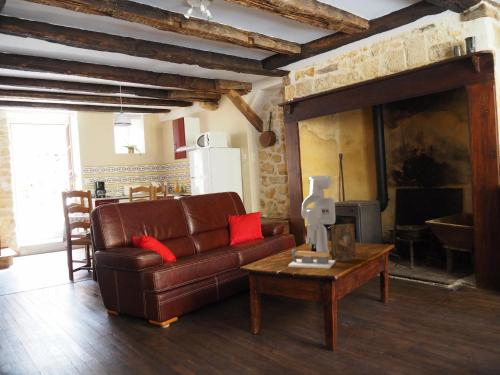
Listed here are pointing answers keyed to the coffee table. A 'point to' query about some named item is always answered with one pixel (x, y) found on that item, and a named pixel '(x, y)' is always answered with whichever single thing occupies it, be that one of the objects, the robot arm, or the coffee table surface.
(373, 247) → the coffee table surface
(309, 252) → the tan wooden bar
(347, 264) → the coffee table surface
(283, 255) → the coffee table surface
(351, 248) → the book
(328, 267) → the board
